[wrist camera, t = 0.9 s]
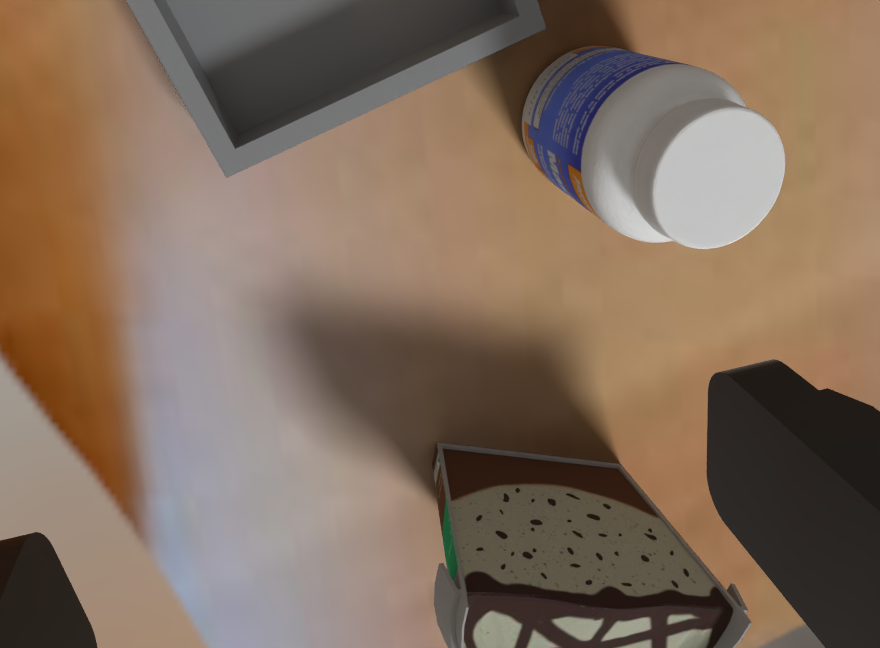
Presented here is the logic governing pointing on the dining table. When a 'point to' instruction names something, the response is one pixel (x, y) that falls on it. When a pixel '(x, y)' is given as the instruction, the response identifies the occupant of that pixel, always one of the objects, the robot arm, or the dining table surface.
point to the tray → (314, 60)
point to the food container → (567, 559)
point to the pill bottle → (653, 146)
